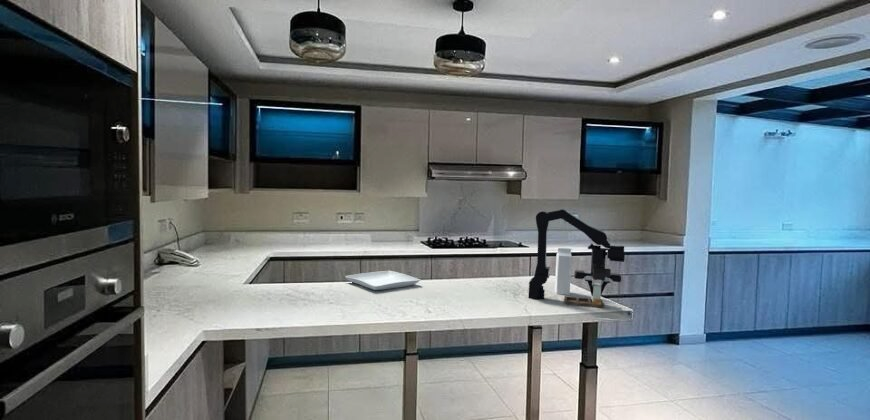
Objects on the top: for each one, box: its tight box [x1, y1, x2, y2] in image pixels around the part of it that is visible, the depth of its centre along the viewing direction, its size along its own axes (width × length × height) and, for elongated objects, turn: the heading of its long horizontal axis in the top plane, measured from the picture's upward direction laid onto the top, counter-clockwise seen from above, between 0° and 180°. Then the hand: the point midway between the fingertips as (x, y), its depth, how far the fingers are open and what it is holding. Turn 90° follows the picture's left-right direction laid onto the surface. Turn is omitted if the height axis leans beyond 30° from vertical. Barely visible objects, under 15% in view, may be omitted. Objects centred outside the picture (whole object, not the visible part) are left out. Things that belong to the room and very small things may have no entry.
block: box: [590, 282, 602, 301], centre depth 207 cm, size 3×6×7 cm, turn 167°
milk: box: [554, 247, 573, 296], centre depth 226 cm, size 6×6×22 cm
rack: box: [563, 295, 606, 309], centre depth 208 cm, size 16×11×4 cm, turn 77°
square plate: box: [344, 270, 421, 291], centre depth 234 cm, size 27×27×4 cm
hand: (596, 295), depth 207 cm, fingers closed on block, 3 cm apart
